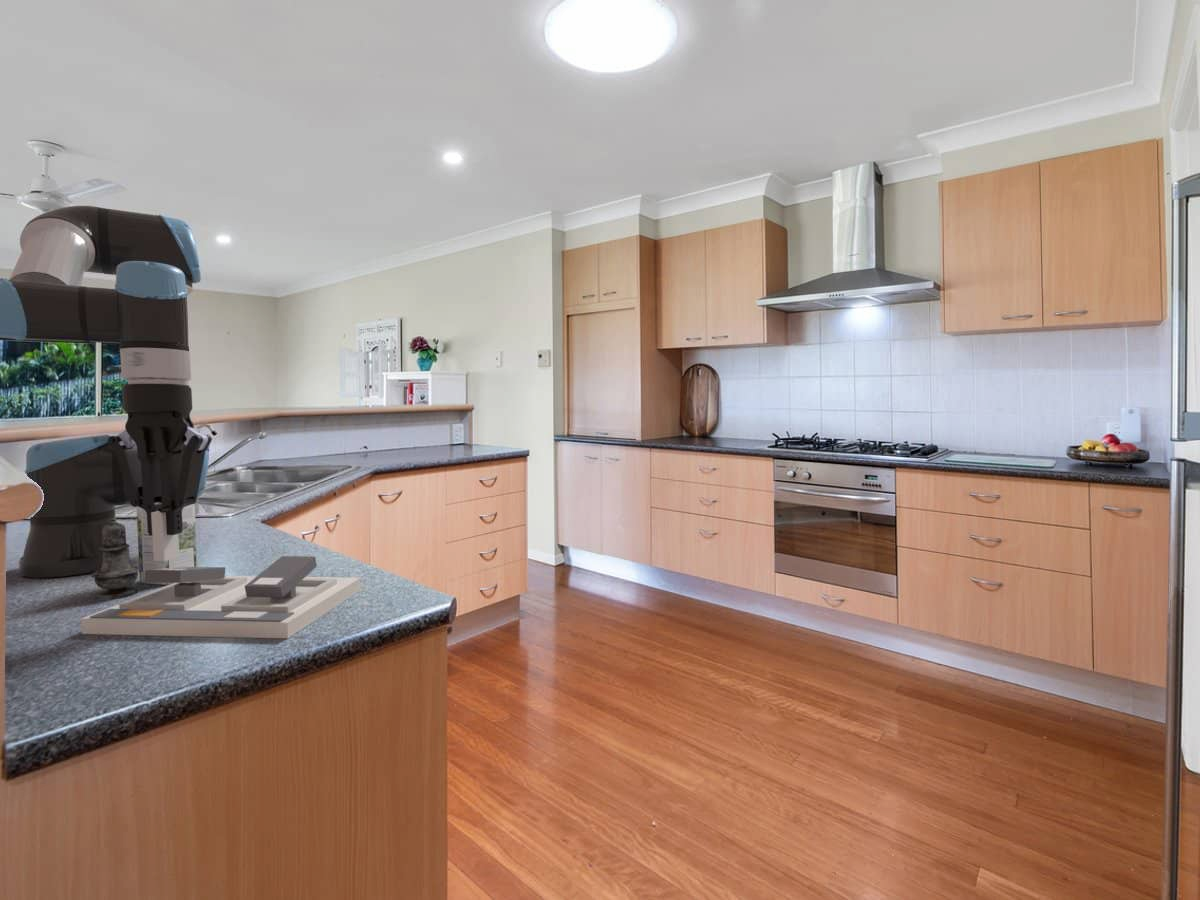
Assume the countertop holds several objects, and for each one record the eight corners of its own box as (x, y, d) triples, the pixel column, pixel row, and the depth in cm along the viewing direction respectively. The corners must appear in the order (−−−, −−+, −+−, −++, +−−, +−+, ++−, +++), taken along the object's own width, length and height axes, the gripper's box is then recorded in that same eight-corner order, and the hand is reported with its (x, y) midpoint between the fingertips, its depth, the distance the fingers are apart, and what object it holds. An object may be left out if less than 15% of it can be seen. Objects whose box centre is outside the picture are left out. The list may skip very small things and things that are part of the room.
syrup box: (171, 574, 106) (167, 490, 105) (199, 576, 105) (194, 491, 104) (139, 583, 101) (133, 495, 100) (167, 586, 99) (162, 496, 98)
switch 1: (192, 577, 92) (193, 566, 92) (224, 578, 92) (225, 566, 92) (144, 582, 83) (145, 569, 83) (179, 582, 83) (181, 569, 83)
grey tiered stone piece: (114, 601, 91) (110, 521, 90) (82, 599, 93) (77, 519, 92) (151, 589, 97) (146, 514, 96) (120, 587, 98) (115, 513, 97)
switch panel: (195, 587, 98) (194, 565, 98) (360, 590, 96) (360, 567, 96) (82, 633, 78) (80, 606, 78) (288, 638, 76) (286, 610, 76)
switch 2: (283, 566, 91) (282, 555, 91) (316, 566, 91) (315, 555, 90) (246, 596, 83) (244, 585, 82) (282, 597, 82) (280, 586, 82)
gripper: (85, 382, 79) (96, 565, 80) (183, 381, 78) (192, 566, 79) (133, 384, 86) (143, 552, 88) (223, 383, 85) (231, 552, 87)
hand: (166, 558), depth 84 cm, fingers closed
